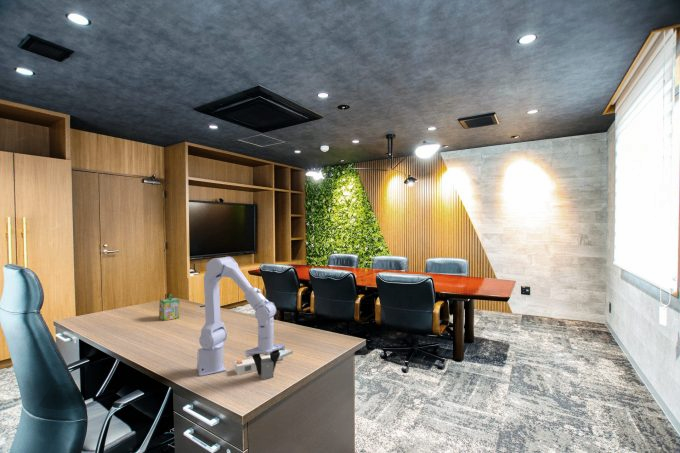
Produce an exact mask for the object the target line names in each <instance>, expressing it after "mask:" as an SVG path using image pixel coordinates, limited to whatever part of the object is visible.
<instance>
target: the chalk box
mask: <svg viewBox="0 0 680 453" xmlns="http://www.w3.org/2000/svg"><path fill="white" fill-rule="evenodd" d="M158 303H159V307H158V308H159V309H158V310H159V311H158V312H159V313H158V318H159V319H160V320H161V319H162V320H161V321H163V320H166V321H170V320H169V319H172V320H176V319H175V318H179V319H180V299H178V298H176V297H173V294H172V293H169V295H168V298H163V299H160V298H159V302H158Z"/></svg>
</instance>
